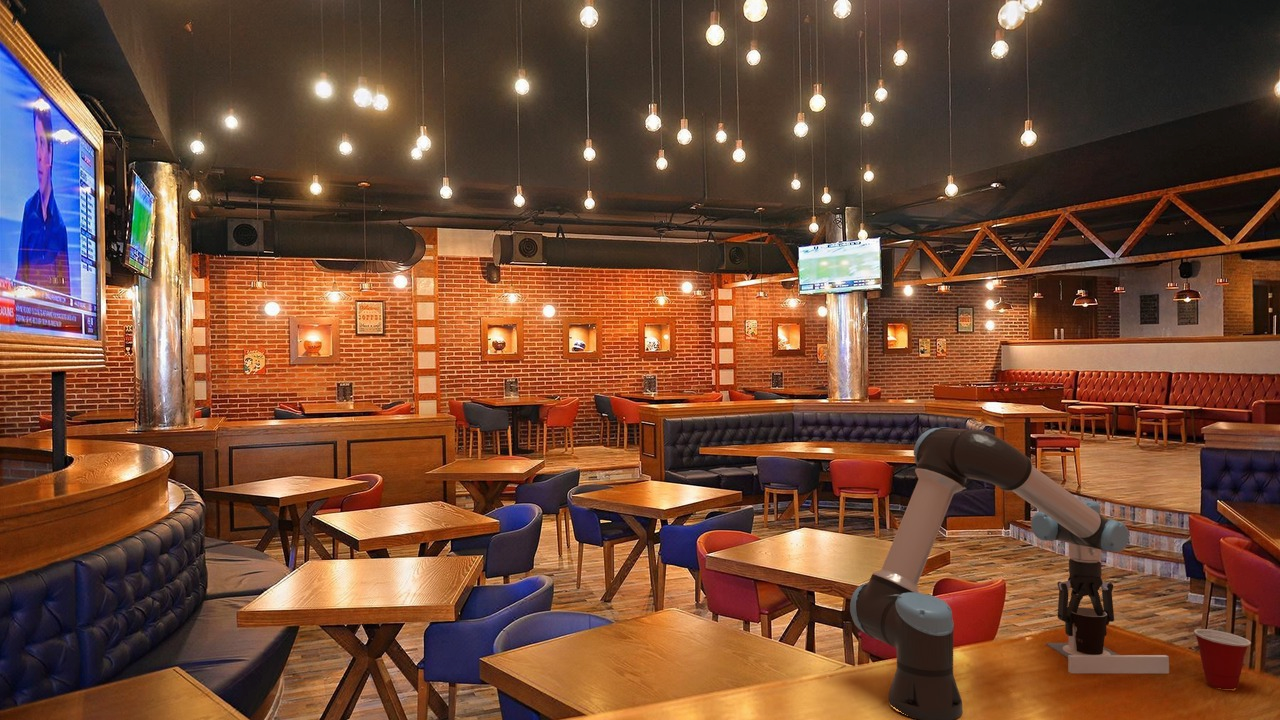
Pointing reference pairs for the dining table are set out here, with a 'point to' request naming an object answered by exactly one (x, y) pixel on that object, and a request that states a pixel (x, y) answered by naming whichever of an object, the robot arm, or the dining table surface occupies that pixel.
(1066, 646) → the mat
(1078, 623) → the coffee mug
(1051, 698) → the dining table surface
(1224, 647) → the plastic cup
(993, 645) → the dining table surface
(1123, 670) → the low wall
